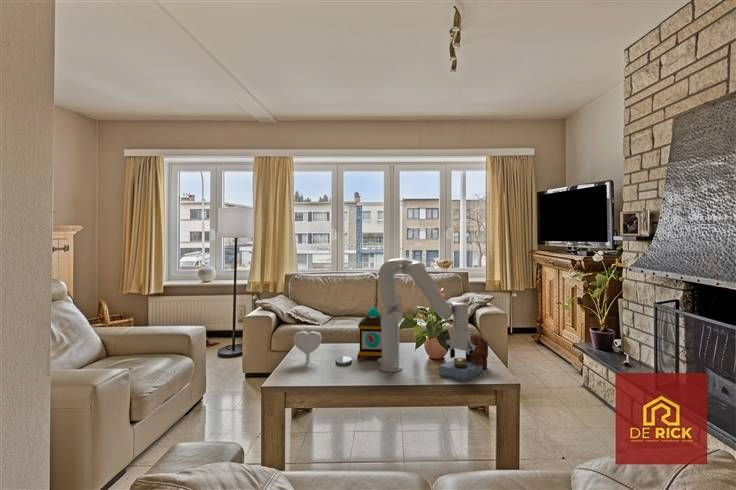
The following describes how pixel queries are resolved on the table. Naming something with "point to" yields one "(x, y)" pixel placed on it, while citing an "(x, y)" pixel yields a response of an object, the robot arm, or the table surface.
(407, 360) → the table surface
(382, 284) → the robot arm
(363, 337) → the decorative lantern
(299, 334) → the heart sculpture
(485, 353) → the wooden figurine
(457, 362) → the bushing
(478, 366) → the block
